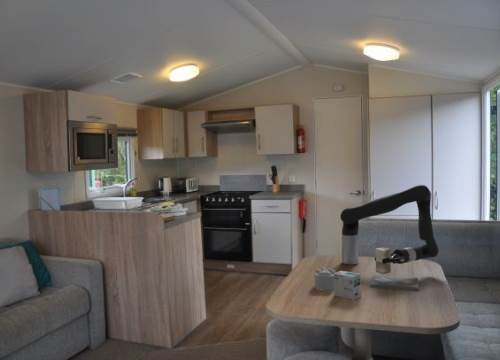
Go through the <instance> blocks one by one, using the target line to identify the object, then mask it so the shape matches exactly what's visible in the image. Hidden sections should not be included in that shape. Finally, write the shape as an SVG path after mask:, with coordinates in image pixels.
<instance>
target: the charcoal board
mask: <svg viewBox="0 0 500 360" xmlns="http://www.w3.org/2000/svg"><path fill="white" fill-rule="evenodd" d="M418 278H419V277H410V276H393V275H381V274H378V275H376V274H373V275H372V277H371V280H370V284H369V285H370V288H378V289H392V290H402V291H404V290H406V291H417V292H418V291H419V290H420V289H419V279H418Z"/></svg>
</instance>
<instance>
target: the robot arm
mask: <svg viewBox="0 0 500 360" xmlns="http://www.w3.org/2000/svg"><path fill="white" fill-rule="evenodd" d="M431 199H432V192H431V190H430V189H429V187H428V186H427V185H425V184H417V185H414V186H412V187H410V188H408V189H406V190H403V191H400V192H396V193H392V194H388V195H386V196H385V195H384V196H382V197H379V198H375V199H373V200H371V201H369V202H367V203H365V204H363V205H359V206H356V207H352V206H348V207H345V208H344V209H343V210H342V211H341V213H340V220H341V221H342V229H341V238H342V239H341V241H342V245H341V263H342V264H345V265H357V264H359V226H360V225H359V222H360V220H363V219H367V218H370V217H375V216H380V215H383V214H388V213H391V212H393V211H395V210H397V209H399V208H400V207H402V206H404V205H406V204H410V203H414V202H415V203H416V206H417V210H418V219H417V220H418V221H417V222H418V225H417V226H418V235H419V239H420V240H421V241H424V242H425V244H423V245H419V246H411V247H403V248H398V249H397V248H396V249H395V250H394V251H392V252H390V258H386V259H382V263H384V264H385V263H391V264H393V265H394V264H395V265H396V264H398V265H402V264H406V263H407V264H408V263H411V262H412V263H413V262H414V261H419V260H423V259H424V260H425V259H429V258H430V259H431V258H435V257H437V256H438V254H439V247H438V243H437V242H436V239H435V237H434V229H433V223H432V217H431V215H432V214H431V203H432V202H431V201H432V200H431ZM374 261H375V262H376V256H374Z"/></svg>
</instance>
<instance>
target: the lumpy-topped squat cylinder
mask: <svg viewBox="0 0 500 360" xmlns="http://www.w3.org/2000/svg"><path fill="white" fill-rule="evenodd" d="M336 272H337V271H336V270H335V269H332V268H331V267H327V268H325V267H322V268H321V269H320V268H318V269H316V270H315V272H314V289H315V288H317V289H323V290H322V291H327V290H333V291H334V273H336ZM317 289H316V290H317Z"/></svg>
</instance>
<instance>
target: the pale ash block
mask: <svg viewBox="0 0 500 360" xmlns="http://www.w3.org/2000/svg"><path fill="white" fill-rule="evenodd" d="M390 253H391V249H390V248H388V247H384V246H382V247H378V248H377V247H376V248H375V257H376V261H375V272H376V273H378V274H380V275H386V274H391V272H392V271H391V270H392V269H391V268H392V267H391V266H392V265H391V264H392V263H385V264H384V263H382V259H386V258H390Z"/></svg>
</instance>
